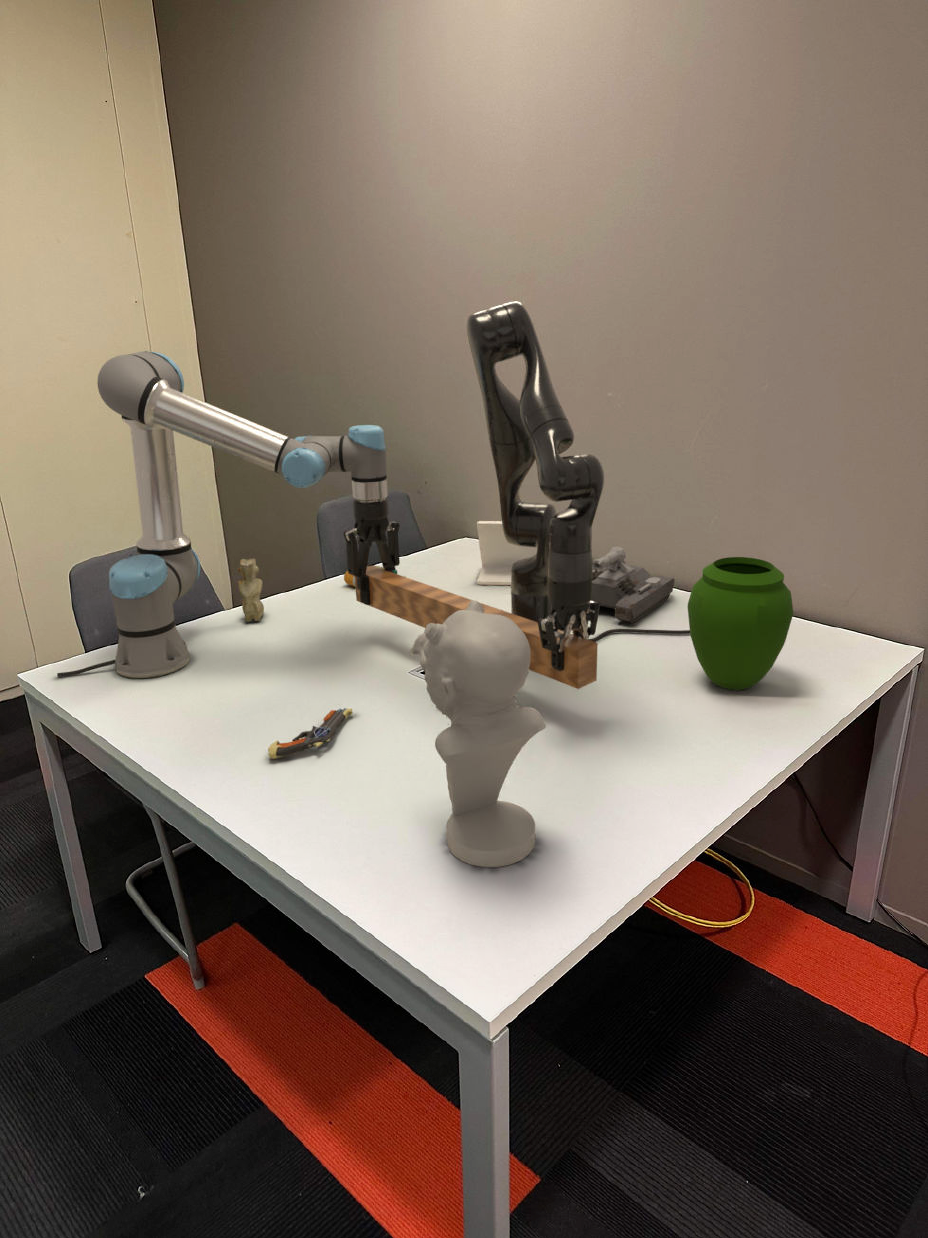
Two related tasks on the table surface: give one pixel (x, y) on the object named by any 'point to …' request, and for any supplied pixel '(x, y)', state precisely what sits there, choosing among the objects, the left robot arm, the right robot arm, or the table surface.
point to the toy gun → (311, 735)
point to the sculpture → (250, 590)
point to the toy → (627, 587)
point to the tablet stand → (498, 554)
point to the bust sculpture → (481, 729)
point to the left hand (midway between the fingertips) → (376, 600)
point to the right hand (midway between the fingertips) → (568, 664)
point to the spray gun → (351, 579)
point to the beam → (438, 605)
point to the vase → (739, 620)
